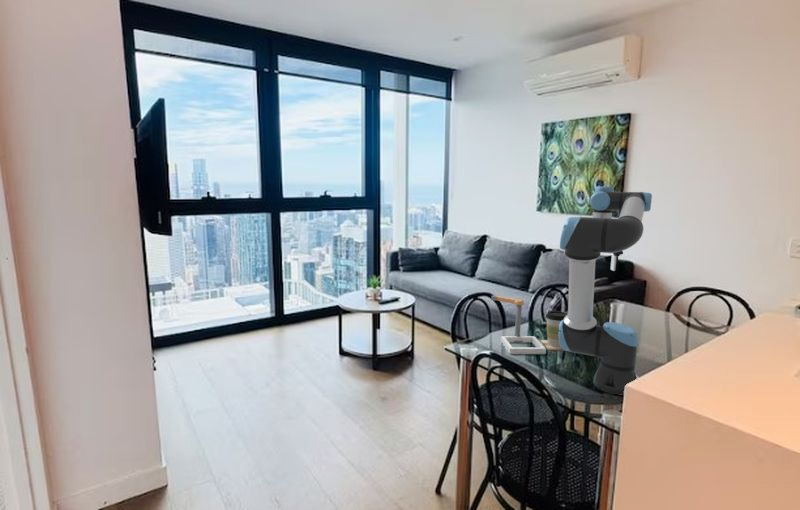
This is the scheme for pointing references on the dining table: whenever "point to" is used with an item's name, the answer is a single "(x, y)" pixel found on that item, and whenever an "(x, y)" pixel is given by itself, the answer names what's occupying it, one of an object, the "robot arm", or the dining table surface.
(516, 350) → the white square frame
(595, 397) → the dining table surface
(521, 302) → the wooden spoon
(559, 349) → the cork pad
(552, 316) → the coffee cup
